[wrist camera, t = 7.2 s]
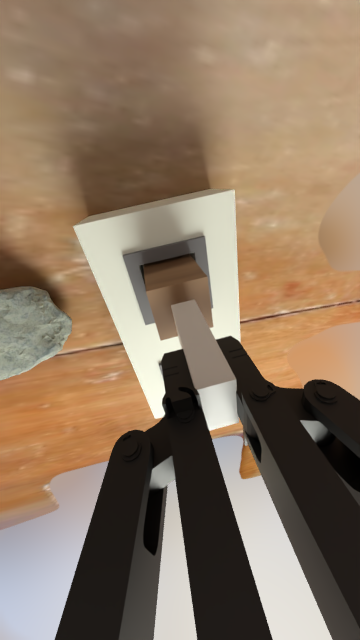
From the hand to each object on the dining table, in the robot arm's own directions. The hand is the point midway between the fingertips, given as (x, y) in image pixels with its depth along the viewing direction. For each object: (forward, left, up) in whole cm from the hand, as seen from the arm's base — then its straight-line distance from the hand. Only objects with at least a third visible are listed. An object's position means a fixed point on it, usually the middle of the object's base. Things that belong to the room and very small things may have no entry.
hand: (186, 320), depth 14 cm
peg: (0, 0, -7) cm, 7 cm away
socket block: (+6, 0, -12) cm, 14 cm away
